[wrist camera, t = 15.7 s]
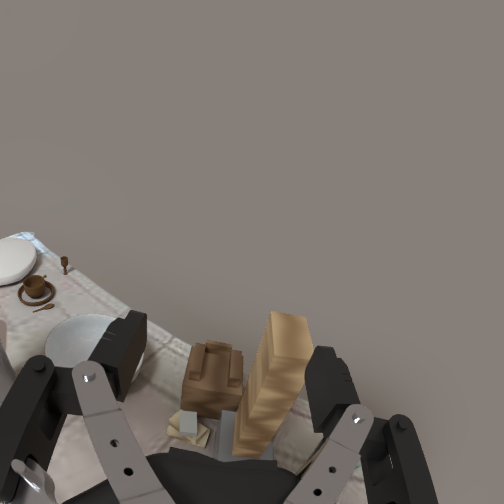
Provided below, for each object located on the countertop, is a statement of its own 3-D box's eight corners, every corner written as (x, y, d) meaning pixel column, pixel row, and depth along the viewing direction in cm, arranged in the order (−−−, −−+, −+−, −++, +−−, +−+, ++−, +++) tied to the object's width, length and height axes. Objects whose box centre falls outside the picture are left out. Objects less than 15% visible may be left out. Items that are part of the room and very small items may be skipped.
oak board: (231, 455, 32) (274, 355, 24) (234, 419, 38) (270, 311, 30) (259, 458, 32) (316, 360, 24) (259, 422, 39) (305, 316, 30)
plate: (28, 276, 59) (-41, 278, 45) (32, 293, 62) (-35, 295, 48) (40, 229, 79) (-17, 232, 65) (42, 245, 82) (-14, 247, 68)
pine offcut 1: (168, 424, 40) (168, 418, 40) (180, 414, 43) (181, 408, 42) (195, 444, 38) (196, 439, 37) (206, 433, 40) (208, 428, 40)
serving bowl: (86, 427, 35) (77, 407, 32) (38, 356, 44) (30, 333, 41) (165, 377, 52) (166, 355, 49) (108, 325, 61) (106, 302, 58)
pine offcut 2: (166, 436, 40) (166, 431, 39) (172, 422, 43) (173, 416, 42) (204, 448, 39) (205, 444, 38) (209, 434, 42) (210, 429, 42)
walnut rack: (180, 412, 45) (183, 375, 40) (188, 375, 54) (193, 336, 50) (232, 421, 46) (245, 386, 41) (234, 384, 55) (246, 346, 51)
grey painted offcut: (180, 414, 41) (180, 410, 40) (196, 416, 42) (196, 411, 41) (179, 435, 37) (179, 431, 36) (196, 437, 38) (197, 433, 37)
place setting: (14, 285, 60) (11, 268, 58) (67, 271, 76) (66, 254, 74) (25, 318, 52) (20, 299, 49) (87, 299, 67) (85, 281, 65)
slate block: (211, 478, 33) (217, 462, 30) (215, 432, 43) (222, 409, 40) (260, 482, 34) (273, 466, 31) (259, 437, 43) (270, 415, 40)
